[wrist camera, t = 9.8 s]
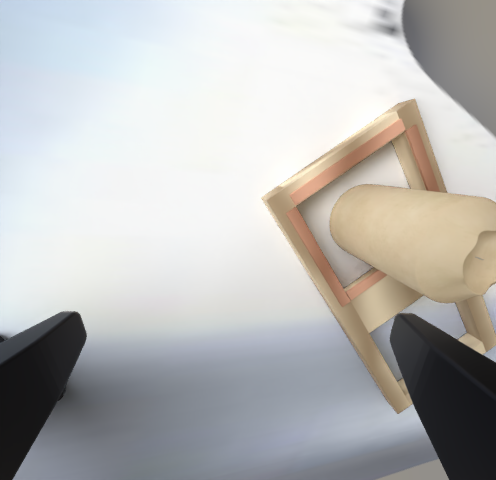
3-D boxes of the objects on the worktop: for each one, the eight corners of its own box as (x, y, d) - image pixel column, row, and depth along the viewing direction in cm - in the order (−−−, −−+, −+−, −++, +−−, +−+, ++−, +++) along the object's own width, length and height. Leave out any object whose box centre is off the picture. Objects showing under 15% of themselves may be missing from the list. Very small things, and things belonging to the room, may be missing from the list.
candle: (400, 191, 21) (565, 212, 12) (379, 256, 23) (513, 322, 13) (339, 177, 20) (472, 189, 11) (320, 247, 21) (423, 313, 12)
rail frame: (387, 401, 28) (399, 416, 26) (261, 197, 19) (267, 201, 18) (482, 333, 28) (500, 344, 26) (398, 103, 19) (417, 97, 18)
